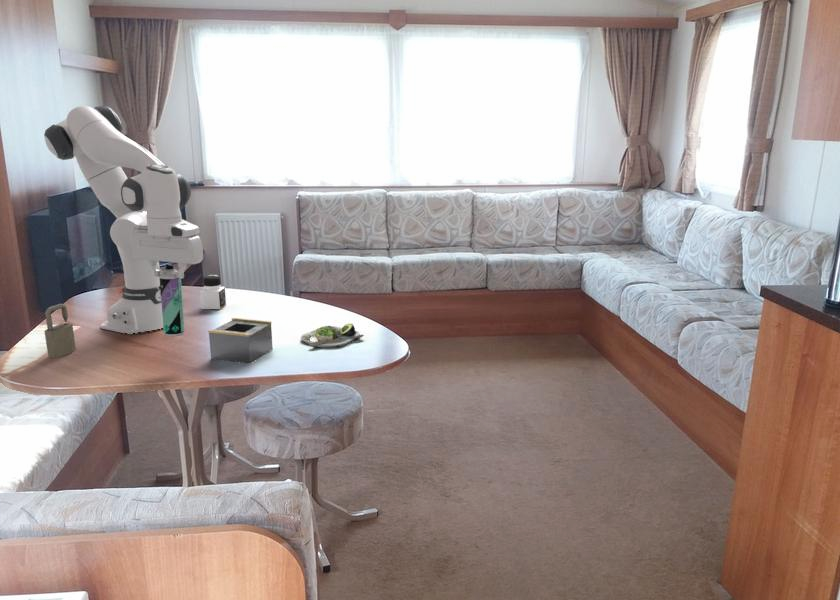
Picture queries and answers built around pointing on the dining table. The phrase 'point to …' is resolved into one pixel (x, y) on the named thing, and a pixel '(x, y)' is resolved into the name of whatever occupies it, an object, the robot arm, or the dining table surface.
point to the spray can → (171, 302)
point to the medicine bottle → (212, 293)
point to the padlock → (59, 334)
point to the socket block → (241, 340)
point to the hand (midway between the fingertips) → (169, 277)
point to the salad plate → (332, 336)
